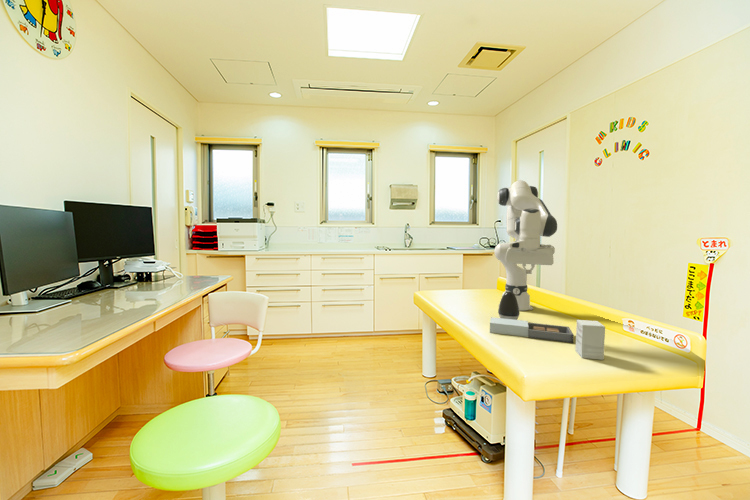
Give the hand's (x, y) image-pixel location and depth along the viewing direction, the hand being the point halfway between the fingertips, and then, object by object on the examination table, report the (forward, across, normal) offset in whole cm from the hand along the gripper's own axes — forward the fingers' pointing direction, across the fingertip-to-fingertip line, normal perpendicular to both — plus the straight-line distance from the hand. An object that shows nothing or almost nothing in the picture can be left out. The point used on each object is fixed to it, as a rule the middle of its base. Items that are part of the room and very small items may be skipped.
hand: (528, 273), depth 153 cm
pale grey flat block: (+26, +7, +8) cm, 28 cm away
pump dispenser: (+27, +8, -11) cm, 30 cm away
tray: (+26, -9, +8) cm, 29 cm away
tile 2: (+23, -10, +8) cm, 26 cm away
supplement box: (+26, -21, +26) cm, 42 cm away
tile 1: (+26, -5, +8) cm, 27 cm away
